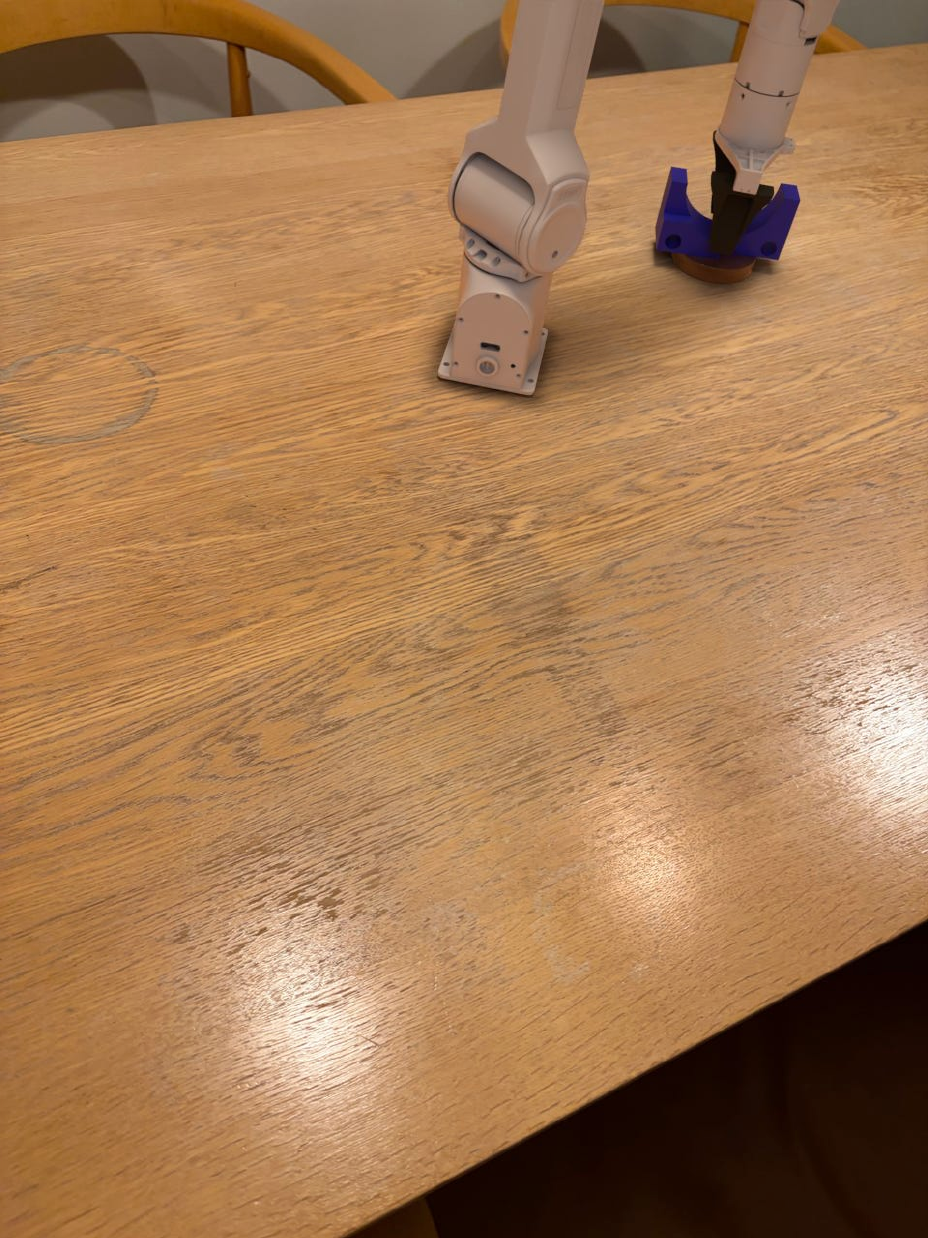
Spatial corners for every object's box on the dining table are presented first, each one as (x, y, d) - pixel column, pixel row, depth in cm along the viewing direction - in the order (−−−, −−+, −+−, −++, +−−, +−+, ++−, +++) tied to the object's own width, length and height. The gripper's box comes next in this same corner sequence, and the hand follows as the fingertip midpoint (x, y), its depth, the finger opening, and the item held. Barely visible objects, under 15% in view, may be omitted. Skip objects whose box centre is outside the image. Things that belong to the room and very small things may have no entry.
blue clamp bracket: (656, 249, 94) (672, 188, 90) (655, 226, 97) (670, 166, 93) (779, 268, 95) (802, 208, 90) (775, 244, 97) (796, 185, 93)
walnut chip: (751, 290, 94) (756, 275, 93) (669, 274, 95) (673, 259, 94) (751, 248, 100) (756, 235, 98) (673, 234, 100) (677, 220, 99)
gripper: (818, 125, 80) (762, 278, 90) (810, 59, 89) (760, 205, 99) (731, 109, 80) (686, 264, 90) (732, 45, 89) (691, 192, 100)
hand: (720, 232), depth 95 cm, fingers open, 7 cm apart
